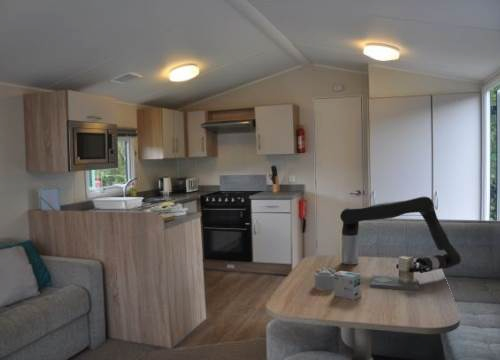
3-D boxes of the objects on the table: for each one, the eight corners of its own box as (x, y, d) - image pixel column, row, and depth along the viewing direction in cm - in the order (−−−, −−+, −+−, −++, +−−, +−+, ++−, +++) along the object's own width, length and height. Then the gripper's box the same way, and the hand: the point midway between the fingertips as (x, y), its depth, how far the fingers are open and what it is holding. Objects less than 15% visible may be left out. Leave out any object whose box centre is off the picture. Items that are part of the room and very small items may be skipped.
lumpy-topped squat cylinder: (313, 289, 209) (313, 272, 209) (317, 281, 222) (317, 265, 221) (335, 291, 206) (334, 273, 206) (338, 283, 219) (337, 266, 218)
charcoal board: (370, 287, 210) (370, 283, 210) (372, 277, 225) (372, 274, 225) (418, 290, 203) (418, 286, 203) (417, 280, 218) (417, 277, 218)
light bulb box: (361, 296, 197) (361, 273, 197) (354, 300, 192) (353, 277, 192) (341, 292, 205) (340, 269, 204) (333, 295, 200) (333, 273, 199)
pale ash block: (406, 283, 209) (405, 259, 208) (398, 280, 213) (398, 256, 213) (413, 281, 211) (413, 257, 210) (406, 279, 215) (405, 255, 215)
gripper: (416, 254, 224) (392, 258, 217) (438, 259, 211) (414, 264, 204) (416, 268, 224) (392, 272, 218) (438, 274, 211) (414, 279, 205)
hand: (403, 268), depth 211 cm, fingers open, 8 cm apart
